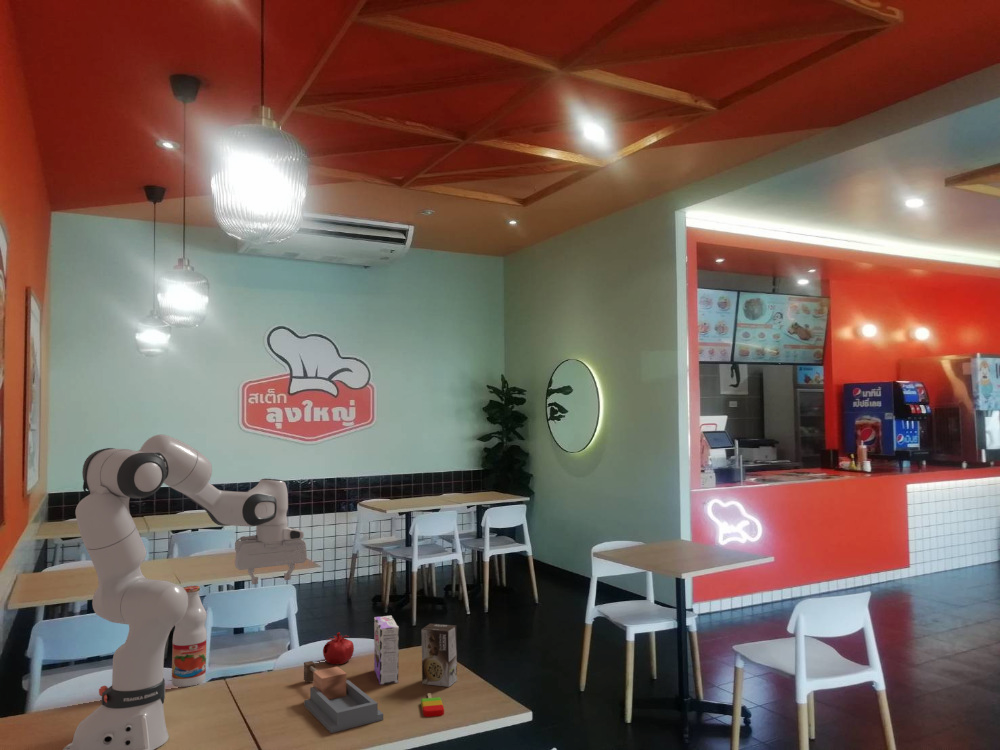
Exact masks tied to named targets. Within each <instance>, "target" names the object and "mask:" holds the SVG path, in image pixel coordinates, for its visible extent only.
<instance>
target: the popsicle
mask: <svg viewBox="0 0 1000 750" xmlns="http://www.w3.org/2000/svg"><path fill="white" fill-rule="evenodd" d="M426 695H427V698H421V699H420V705H421V710H422V715H423V717H426V718H431V717H442V716H444V715H445V709H444V704H443V701H442V698H441V697H439V696H438V697H432V693H431V692H428V693H427V694H426Z"/></svg>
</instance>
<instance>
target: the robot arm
mask: <svg viewBox="0 0 1000 750" xmlns="http://www.w3.org/2000/svg"><path fill="white" fill-rule="evenodd" d="M81 471H82V480H83V482H82V483H83V484H82V489H83V491H84V493H85V494H86V495H87V496H85V497H84V498H82V499H81V500H80V501H79V502H78V504H77V506H76V508H75V518H76V524H77V527H78V530H79V535H80V536H81V537H80V538H81V540H82V542H83V544H84V546H85V548H86V551H87V554H88V556H89V558H90V559H91V562H92V565H93V567H94V569H95V571H96V575H97V581H98V587H97V588H96V590H95V592H94V594H93V596H92V603H91V605H92V609H93V611H94V613H95V614H96V615H97V616H98V617H100V618H101V619H104V620H106V621H108V622H110V623H113V624H115V623H116V624H121V625H128V633H127V637H126V639H125V642H124V643H123V644H121V645H120V646H119V647H117V649H116V650H115V651H114V654H113V657H112V673H111V674H112V676H111V677H112V678H111V680H112V681H111V686H107V685H102V686H100V688H99V689H98V694H99V696H100V697H101V705H99V706H98V707H97V708H96V709H95V710H93V711H92V712H91V713H90V714H88V716H86V717H85V718H83V719H82V720H81V721H80V722H79V724H78V725H77V727H76V729H75V732H74V734H73V739H72V742H70V743H69V744H67V745H66V746H65V747H64V748H63V749H62V750H156V749H157V748H160V747H161V746H163V745H164V744H166V742H167V741H169V738H170V737H169V731H168V729H167V725H166V718H165V710H164V703H165V699H166V680H165V678H164V665H165V664H164V663H165V651H166V644H167V641H168V638H169V635H170V633H171V631H172V629H173V628H175V624H177V623H178V622H179V621H180V620H181V619H182V618H183V616H184V615H185V613H186V610H187V607H188V595H187V592H186V591H185V589H184V588H183V587H182V586H181V585H179V584H177V583H173V582H171V581H168V580H164V579H163V580H161V579H152V578H147V577H146V576H144V574H143V573H142V569H141V565H142V563H143V562H144V561H145V559H146V557H147V549H146V547H145V544H144V542H143V539H142V537H141V534H140V533H139V530H138V528H137V526H136V523H135V521H134V518H133V517H132V515H131V511H130V499H143V498H148V497H150V496H153V495H154V494H155V493H156V492H158V491H159V489H160V488H161V487H162V486H163V484H164V485H166V486H168V487H169V488H171V489H173V490H174V491H177V492H179V493H181V494H182V495H183V496H185V497H187V498H188V500H190V501H192V502H193V503H195V504H197V505H198V506H199V507H201V508H202V509H203V510H204V511H205V512H206V513H207V514H208V516H209V518H210V519H211V521H212V522H213V523H214V524H216V525H217V526H223V527H225V526H229V527H230V526H234V527H248V528H249V527H251V528H252V527H256V528H255V529H256V530H255V535H249V536H246V535H245V536H240V538H237V539H236V541H235V543H234V550H235V556H234V558H235V559H234V567H235V568H236V569H238V570H239V571H242V570H243V571H244V570H247V573H248V575H249V576H250V578H251V582H250V583H251V584H252V585H257V584H259V577H258V576H255V575H254V573H255V569H260V568H268V567H269V568H270V567H276V566H277V567H278V566H286V565H287V567H288V570H287V571H286V572H285V573H283V574H284V577H283V579H284V581H288V580H290V581H291V579H292V577H291V576H292V573H293V572H294V569H295V566H296V564H304V563H305V562H306V561H307V560H308V559H307V558H308V549H307V542H306V541H305V539H303V538H304V535H305V534H304V531H302V530H300V529H297V528H294V527H289V526H288V524H289V523H288V521H289V520H288V518H287V515H288V514H287V513H288V509H289V498H288V497H289V495H288V488H287V484H286V482H285V481H284V480H281V479H276V478H262V479H259V481H258V483H257V485H255V486H254V487H253V488H251V489H249V490H247V491H232V490H227V489H226V490H225V489H223V490H221V489H218V488H217V487H215V486H214V485H213V484H212V483H210V480H211V477H212V473H213V466H212V463H211V461H210V460H209V459H208V458H207V457H206V456H205V455H204V454H202V452H200V451H198V450H197V449H195V447H194V448H193V447H192V446H191V445H189V444H187V443H185V442H184V441H181V440H179V439H177V438H175V437H173V436H169V435H166V434H156V435H153V436H151V437H149V438H148V439H147V440H146V441H144V443H143V444H142V446H141V447H140V449H138V450H132V449H128V448H114V447H105V448H101V449H98V450H96V451H94V452H92V453H91V454H89V455H88V457H87V458H86V459H85V460H84V463H83V466H82V470H81Z"/></svg>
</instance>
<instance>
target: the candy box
mask: <svg viewBox="0 0 1000 750" xmlns="http://www.w3.org/2000/svg"><path fill="white" fill-rule="evenodd" d="M373 619H374V622H373V623H374V625H373V628H374V633H373V634H374V635H373V636H374V642H373V643H374V648H373V649H374V663H373V664H374V667H373V670H374V673H375V675H376V678H377V681H378V683H379V685H388V684H390V685H391V684H397V683H399V653H400V652H399V649H400V648H399V647H400V646H399V642H400V641H399V640H400V639H399V637H400V636H399V635H400V631H399V630H400V628H399V627H400V626H399V625H398V624H397V622H396V621H395V619H394V617H393V616H392V615H383V616H374V618H373Z"/></svg>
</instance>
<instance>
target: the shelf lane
mask: <svg viewBox="0 0 1000 750" xmlns="http://www.w3.org/2000/svg"><path fill="white" fill-rule="evenodd" d="M309 689H310V690H309V691H310V696H309V698H308V699H307V698H306V699H304V704H303V706H304V708H306V709H307V710H308V711H309V712H310V713H311V714H312V715H313V716H314V718H315V719H317V720H318V721H319V723H321V724H322V726H324V728H325V729H326V730H327V731H328V732H330V734H333V733H337V732H342V731H346V730H349V729H352V728H358V727H360V726H364V725H368V724H371V723H376V722H380V721H383V720H384V713H383V712H382V711H381V710H380V709H378V708H379V707H378V706H379V705H378V702H377V701H375V700H374V699H373V698H372V697H370V696H369V695H368V694H367V693H365V692H364V691H363V690H361V688H359V687H358V686H357V685H355V684H354V683H353V682H352V681H351V680H349V679H346V696H343V697H339V698H334V699H330V700H329V699H328V698H326V697H325V696H324V695H323V694H322V693H321V692H320V691H319V690H318V689H317V688H316V687H310V688H309Z"/></svg>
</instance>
